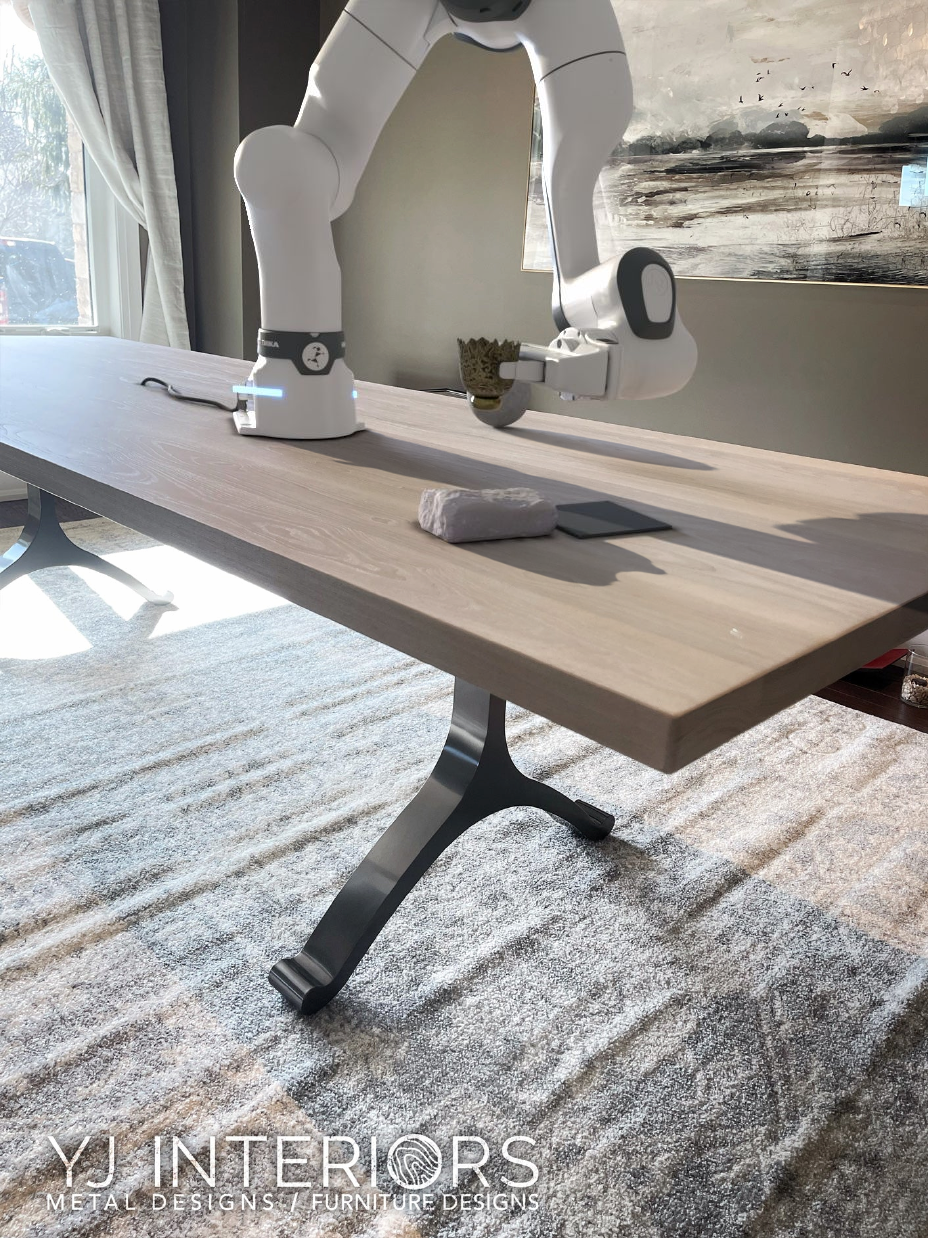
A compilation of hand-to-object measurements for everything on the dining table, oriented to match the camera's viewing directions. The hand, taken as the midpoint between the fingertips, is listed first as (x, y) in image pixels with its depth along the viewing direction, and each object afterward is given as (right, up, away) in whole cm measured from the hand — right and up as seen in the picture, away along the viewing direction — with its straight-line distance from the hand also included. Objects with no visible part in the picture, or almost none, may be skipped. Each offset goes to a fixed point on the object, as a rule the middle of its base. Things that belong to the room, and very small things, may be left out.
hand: (481, 365), depth 111 cm
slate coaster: (+11, -19, -14) cm, 26 cm away
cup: (+1, -5, +2) cm, 5 cm away
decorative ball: (+3, +1, +39) cm, 39 cm away
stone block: (0, -21, -19) cm, 28 cm away
